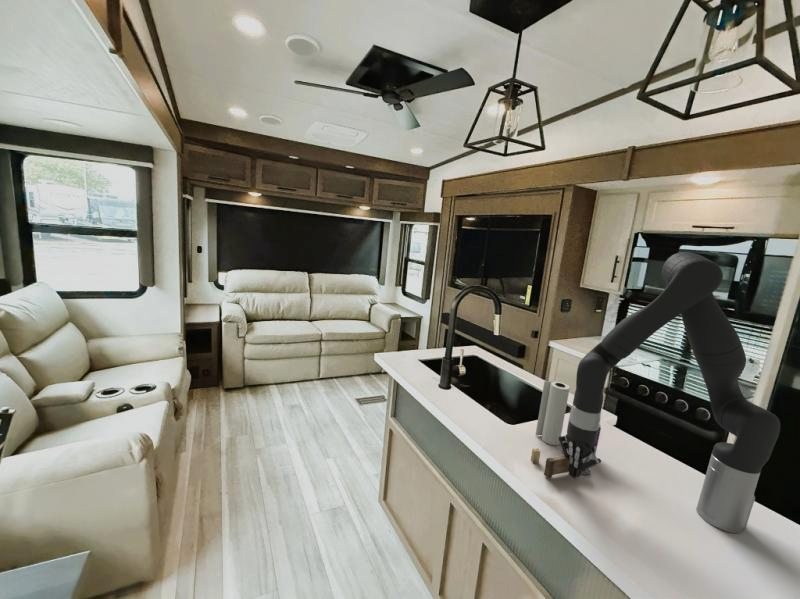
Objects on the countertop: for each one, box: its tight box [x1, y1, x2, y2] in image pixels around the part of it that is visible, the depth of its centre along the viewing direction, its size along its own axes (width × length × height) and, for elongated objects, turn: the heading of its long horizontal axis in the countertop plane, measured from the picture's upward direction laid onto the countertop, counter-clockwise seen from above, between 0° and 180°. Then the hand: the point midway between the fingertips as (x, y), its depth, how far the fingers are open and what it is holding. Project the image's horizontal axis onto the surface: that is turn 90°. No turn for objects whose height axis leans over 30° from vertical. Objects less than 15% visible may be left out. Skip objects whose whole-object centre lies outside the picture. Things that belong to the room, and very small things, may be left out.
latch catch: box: [530, 448, 541, 464], centre depth 111 cm, size 2×1×4 cm
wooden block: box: [543, 455, 570, 479], centre depth 105 cm, size 12×2×6 cm, turn 110°
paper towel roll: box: [535, 380, 571, 446], centre depth 122 cm, size 7×6×21 cm
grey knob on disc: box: [580, 456, 591, 477], centre depth 108 cm, size 5×5×7 cm
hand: (573, 476), depth 101 cm, fingers closed
